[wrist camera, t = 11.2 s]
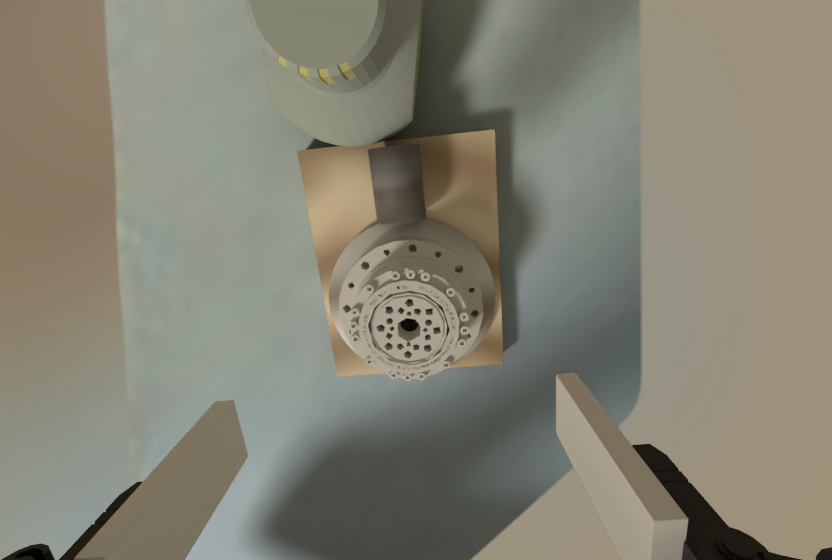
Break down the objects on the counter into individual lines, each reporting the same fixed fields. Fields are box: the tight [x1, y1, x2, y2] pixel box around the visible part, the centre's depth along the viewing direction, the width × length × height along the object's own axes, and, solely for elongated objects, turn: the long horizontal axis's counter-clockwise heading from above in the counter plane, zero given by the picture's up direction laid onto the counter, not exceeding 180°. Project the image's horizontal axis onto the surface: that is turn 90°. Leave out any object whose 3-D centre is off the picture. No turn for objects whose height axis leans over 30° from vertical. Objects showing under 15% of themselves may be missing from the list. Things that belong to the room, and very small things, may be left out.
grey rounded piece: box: [246, 0, 424, 147], centre depth 20 cm, size 11×8×10 cm
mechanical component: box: [339, 237, 483, 381], centre depth 25 cm, size 10×4×10 cm
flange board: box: [298, 129, 504, 377], centre depth 27 cm, size 17×13×5 cm
